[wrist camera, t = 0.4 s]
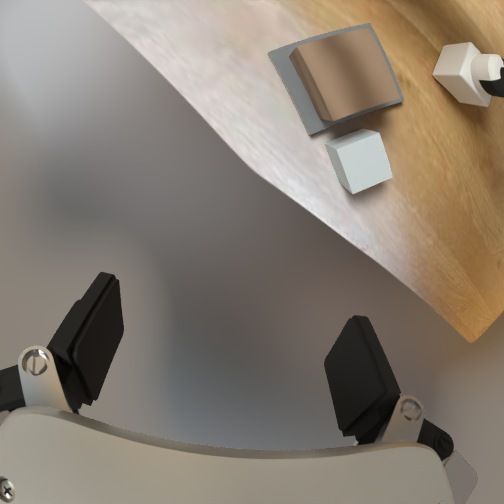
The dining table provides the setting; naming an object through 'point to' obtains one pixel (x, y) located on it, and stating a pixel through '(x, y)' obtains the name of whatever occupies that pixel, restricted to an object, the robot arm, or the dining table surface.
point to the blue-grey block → (359, 159)
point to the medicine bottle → (470, 74)
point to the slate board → (299, 92)
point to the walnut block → (344, 74)
